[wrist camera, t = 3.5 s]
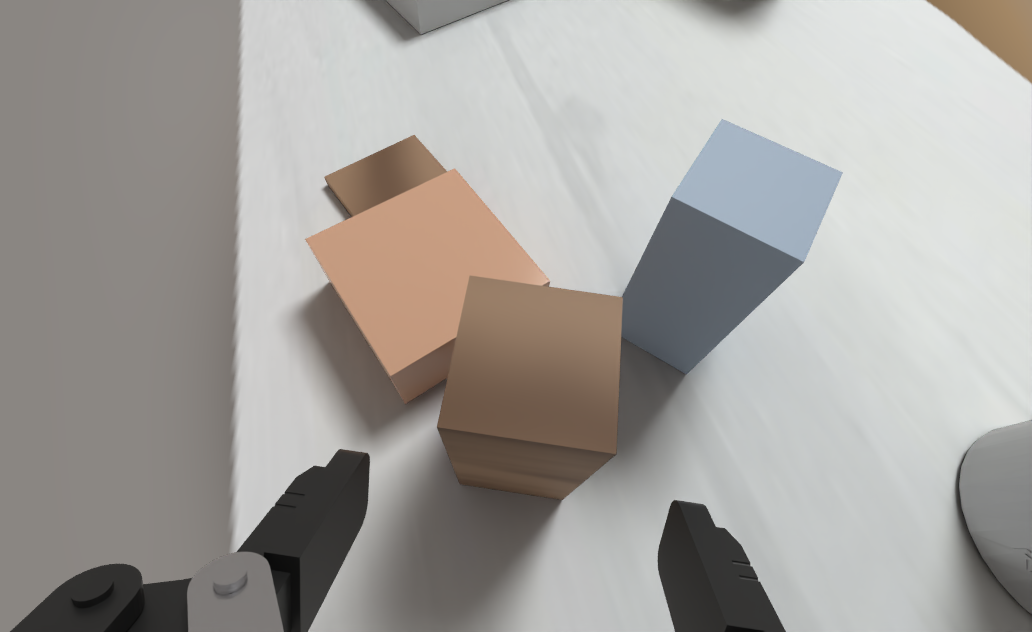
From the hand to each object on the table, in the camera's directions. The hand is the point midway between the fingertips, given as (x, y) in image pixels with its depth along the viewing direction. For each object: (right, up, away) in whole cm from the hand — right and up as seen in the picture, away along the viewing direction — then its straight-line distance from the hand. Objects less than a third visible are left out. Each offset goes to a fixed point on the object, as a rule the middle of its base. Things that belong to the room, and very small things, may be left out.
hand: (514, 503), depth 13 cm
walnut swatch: (-7, +12, +15) cm, 21 cm away
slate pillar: (+8, +5, +12) cm, 15 cm away
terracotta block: (-4, +6, +13) cm, 14 cm away
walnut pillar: (0, -1, +9) cm, 9 cm away
